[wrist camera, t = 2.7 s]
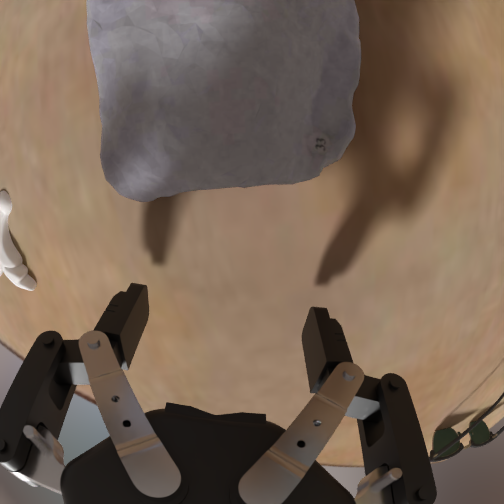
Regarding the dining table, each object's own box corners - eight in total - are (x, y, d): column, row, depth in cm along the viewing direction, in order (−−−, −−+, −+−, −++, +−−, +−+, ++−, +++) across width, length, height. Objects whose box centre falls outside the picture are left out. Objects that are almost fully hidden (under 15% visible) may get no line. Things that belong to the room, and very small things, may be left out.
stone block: (309, -40, 9) (108, -26, 7) (353, -77, 4) (79, -67, 3) (326, 163, 14) (131, 191, 13) (377, 191, 10) (107, 233, 9)
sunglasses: (550, 343, 21) (566, 366, 17) (483, 419, 29) (492, 441, 25) (505, 343, 19) (527, 376, 15) (418, 434, 27) (427, 465, 23)
